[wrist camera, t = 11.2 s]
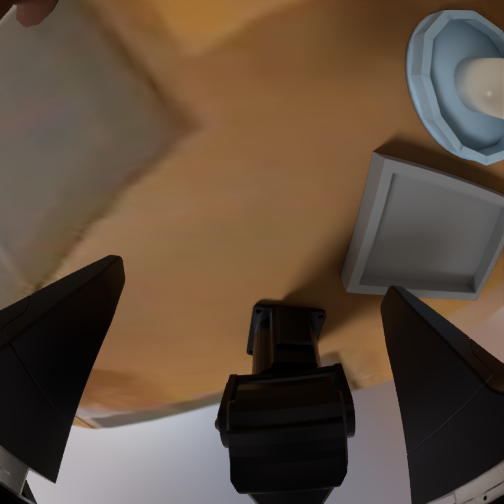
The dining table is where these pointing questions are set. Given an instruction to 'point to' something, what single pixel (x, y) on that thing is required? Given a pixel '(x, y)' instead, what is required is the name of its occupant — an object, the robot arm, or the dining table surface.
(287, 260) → the dining table surface
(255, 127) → the dining table surface
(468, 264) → the parts tray
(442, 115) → the blue ring
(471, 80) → the white marshmallow
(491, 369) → the robot arm
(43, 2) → the ice cream bowl
